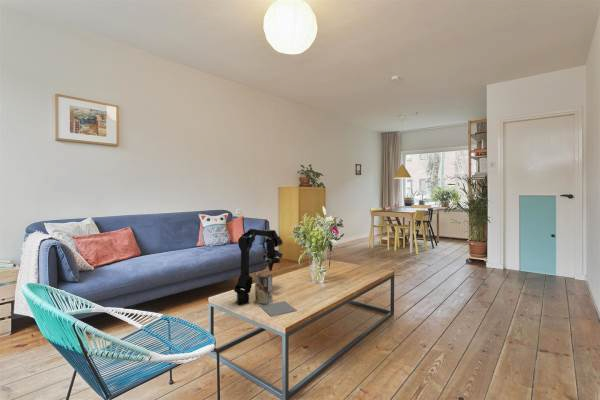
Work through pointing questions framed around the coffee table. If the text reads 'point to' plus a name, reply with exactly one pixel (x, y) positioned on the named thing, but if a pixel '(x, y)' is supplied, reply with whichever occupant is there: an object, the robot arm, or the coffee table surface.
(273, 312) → the mat
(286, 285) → the coffee table surface
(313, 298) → the coffee table surface
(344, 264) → the coffee table surface
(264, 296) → the coffee box
